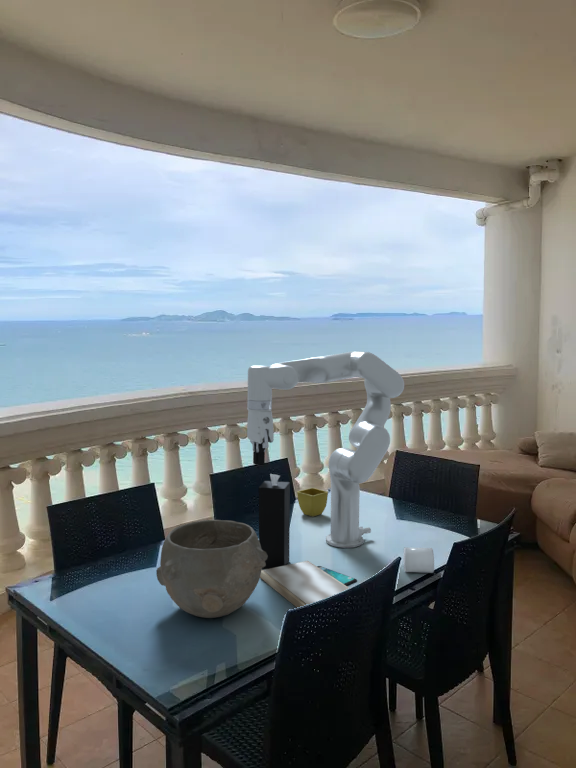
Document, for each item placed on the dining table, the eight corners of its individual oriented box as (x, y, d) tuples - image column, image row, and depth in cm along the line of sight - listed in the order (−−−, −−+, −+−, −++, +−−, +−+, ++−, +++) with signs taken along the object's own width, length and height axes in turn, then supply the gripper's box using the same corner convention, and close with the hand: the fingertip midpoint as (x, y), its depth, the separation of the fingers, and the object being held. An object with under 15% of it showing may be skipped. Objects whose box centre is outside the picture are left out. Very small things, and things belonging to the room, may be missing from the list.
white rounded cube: (434, 570, 176) (406, 569, 177) (431, 574, 182) (404, 573, 183) (433, 545, 179) (405, 545, 180) (429, 550, 185) (403, 549, 186)
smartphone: (319, 565, 185) (358, 579, 174) (319, 567, 185) (358, 582, 174) (302, 571, 180) (342, 586, 169) (302, 574, 180) (342, 589, 169)
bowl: (256, 640, 141) (256, 555, 139) (138, 629, 146) (137, 547, 144) (278, 590, 168) (278, 519, 166) (178, 582, 173) (177, 513, 171)
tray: (307, 567, 184) (307, 559, 184) (362, 604, 160) (362, 595, 159) (259, 577, 176) (259, 569, 176) (309, 617, 152) (309, 608, 152)
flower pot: (296, 514, 236) (296, 491, 235) (312, 509, 242) (312, 487, 241) (312, 519, 230) (312, 496, 229) (328, 514, 236) (328, 491, 235)
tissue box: (284, 570, 181) (284, 477, 179) (258, 568, 183) (258, 476, 180) (289, 561, 189) (290, 471, 186) (264, 559, 190) (264, 470, 188)
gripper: (281, 407, 185) (280, 467, 187) (259, 402, 198) (259, 458, 200) (259, 409, 181) (258, 470, 183) (238, 403, 195) (238, 460, 196)
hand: (258, 463), depth 191 cm, fingers closed
